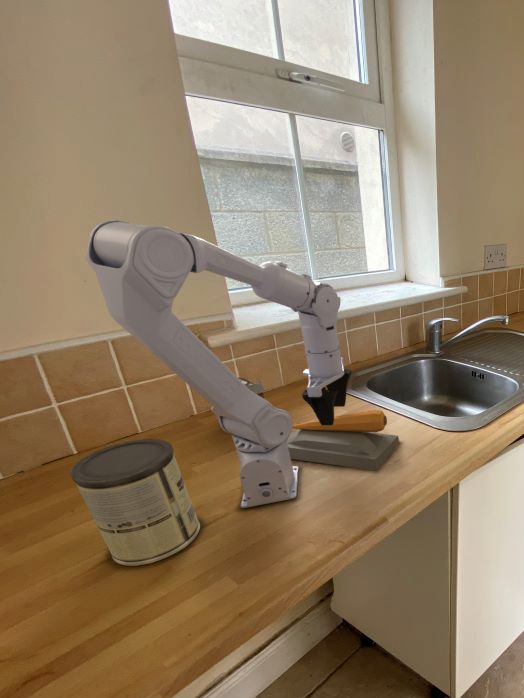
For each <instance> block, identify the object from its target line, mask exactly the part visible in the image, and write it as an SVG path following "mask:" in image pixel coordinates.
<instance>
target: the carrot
mask: <svg viewBox="0 0 524 698" xmlns="http://www.w3.org/2000/svg"><path fill="white" fill-rule="evenodd" d="M387 424H388V418H387V415H385V413H384V411H382V410H379V409H371V410H366V411H365V410H364V411H359V412H353V413H348V414H342V415H337V416H334V423H333V425H321V424H320V422H319V420H318V419H315V420H308V421H306V422H305V421H304V422H300V423H296V424H293V426H292V430H298V429H303V430H321V431H352V432H373V433H380V432H382V431H384V430H385V427H386V426H387Z"/></svg>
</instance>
